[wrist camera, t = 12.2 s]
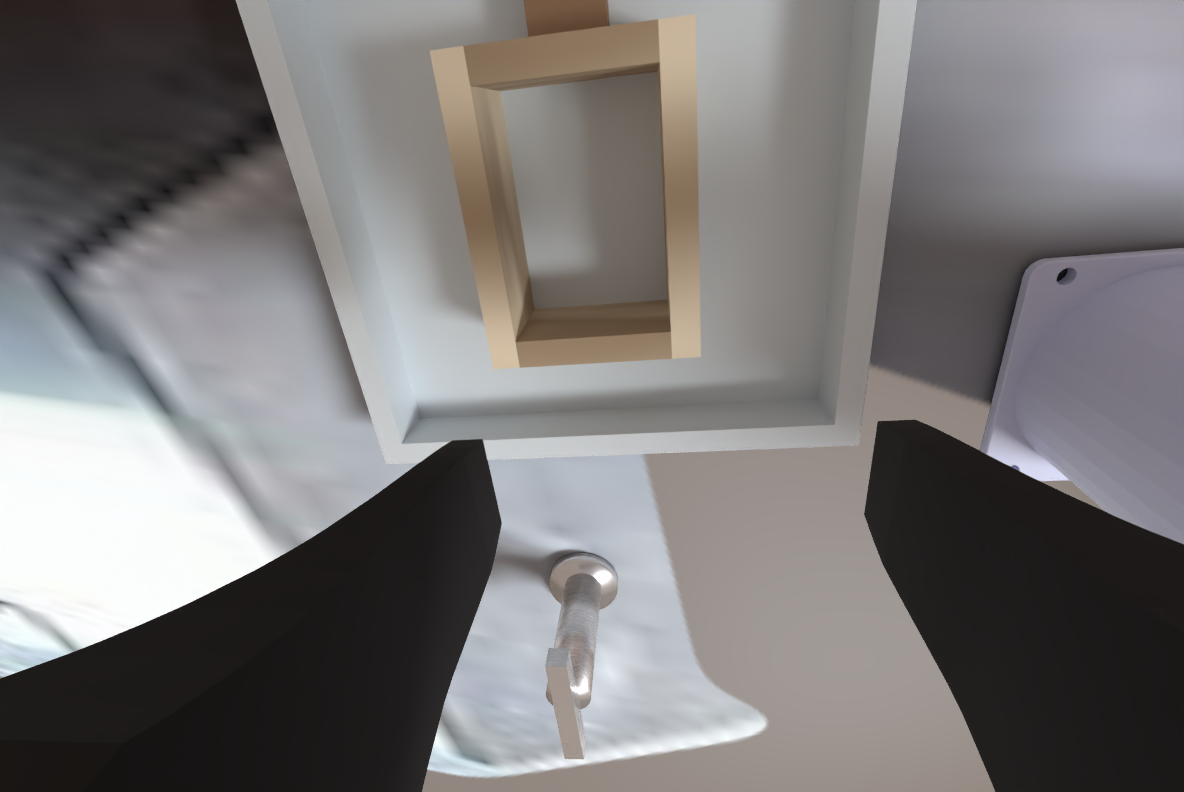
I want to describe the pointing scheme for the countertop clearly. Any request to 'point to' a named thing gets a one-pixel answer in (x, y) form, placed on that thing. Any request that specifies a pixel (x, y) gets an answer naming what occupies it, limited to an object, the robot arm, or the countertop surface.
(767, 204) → the tray
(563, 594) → the t head stake
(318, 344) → the countertop surface
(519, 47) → the wooden lantern frame
